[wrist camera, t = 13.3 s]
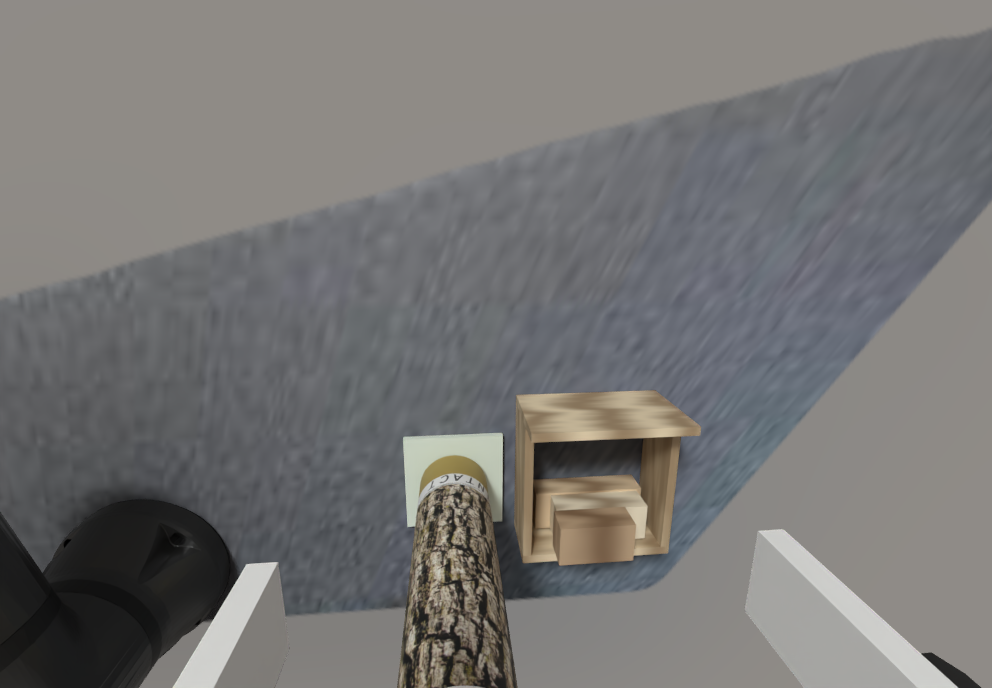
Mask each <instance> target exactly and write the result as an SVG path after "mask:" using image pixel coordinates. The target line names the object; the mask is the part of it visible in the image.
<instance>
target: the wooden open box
mask: <svg viewBox="0 0 992 688" xmlns="http://www.w3.org/2000/svg"><path fill="white" fill-rule="evenodd" d="M700 431H701V426H699V425H698V424H697V423H695V422H694V421H693V420H692V419H690V418H689V417H688V416H687V415H685V414H684V413H683V412H682V411H680V410H679V409H678V408H677V407H675V406H674V405H673V404H672V403H670V402H669V401H668V400H667V399H665V398H664V397H663V396H661V395H660V394H659V393H658V392H656V391H655V390H653V391H623V392H592V393H562V394H531V395H516V443H515V512H514V525H515V530H516V534H517V539H518V543H519V548H520V552H521V557H522V562H523V563H533V562H548V561H558V560H557V557H556V554H555V551H554V548H553V535H552V532H551V529H550V528H535V526H534V522H533V519H532V505H533V466H534V443H538V442H562V441H585V440H608V439H631V438H643V448H642V459H641V471H640V482H639V486H640V488H641V495H640V496H641V498H642V499H643V500H644V502H645V503H646V505H647V506H648V508H647V518H646V528H645V538H640V539H635V544H634V555H633V556H635V555H650V554H664V553H668V548H669V539H670V530H671V521H672V512H673V503H674V494H675V485H676V476H677V467H678V458H679V450H680V441H681V436H700Z"/></svg>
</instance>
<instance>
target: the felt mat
mask: <svg viewBox="0 0 992 688" xmlns="http://www.w3.org/2000/svg"><path fill="white" fill-rule="evenodd" d="M403 447H404V466H405V485H406V504H407V524H408V527H413V526H415V524H416V515H417V506H418V500H419V491H420V482H421V478H422V476H423V474H424V472H425V470H426V469H427V468H428V466H429V465H430V464H432V463H433V462H434V461H436V460H438V459H440V458H442V457H445V456H451V455H458V456H464V457H467V458H469V459H471V460H473V461H475V462H476V463H477V464H478V465H479V466H480V467H481V469H482V470H483V472H484V474H485V477H486V481H487V488H488V495H489V500H490V506H491V513H492V520H493V522H497V521H502V486H503V434H502V433H487V434H463V435H438V436H414V437H404V438H403Z"/></svg>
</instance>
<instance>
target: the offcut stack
mask: <svg viewBox="0 0 992 688" xmlns="http://www.w3.org/2000/svg"><path fill="white" fill-rule="evenodd" d="M640 495H641V488H640V486H639V485H638V483H637V482H636V481H635V479H634V478H633V477H632V475H614V476H595V477H575V478H556V479H536V480H533V505H532V519H533V522H534V526H535V528H550V529H551V532H552V535H553V548H554V551H555V554H556V557H557V560H558V563H559V566H560V565H574V564H589V563H603V562H618V561H632V560H633V555H634V544H635V539H640V538H645V528H646V518H647V508H648V506H647V505H646V503H645V502H644V500H643V499H642V498H641V496H640Z"/></svg>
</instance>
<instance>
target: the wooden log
mask: <svg viewBox="0 0 992 688" xmlns="http://www.w3.org/2000/svg"><path fill="white" fill-rule="evenodd" d="M397 688H517V681H516V674H515V667H514V661H513V654H512V647H511V641H510V634H509V627H508V620H507V614H506V607H505V600H504V594H503V587H502V580H501V573H500V567H499V560H498V553H497V547H496V540H495V533H494V526H493V520H492V513H491V506H490V500H489V495H488V488H487V481H486V477H485V474H484V472H483V470H482V469H481V467H480V466H479V465H478V464H477V463H476V462H475V461H473V460H471V459H469V458H467V457H464V456H458V455H451V456H445V457H442V458H440V459H438V460H436V461H434V462H433V463H432V464H430V465H429V466H428V468H427V469H426V470H425V472H424V474H423V476H422V478H421V482H420V491H419V500H418V506H417V515H416V524H415V533H414V542H413V551H412V560H411V568H410V577H409V586H408V595H407V604H406V614H405V622H404V631H403V640H402V649H401V658H400V667H399V675H398V684H397Z"/></svg>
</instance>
